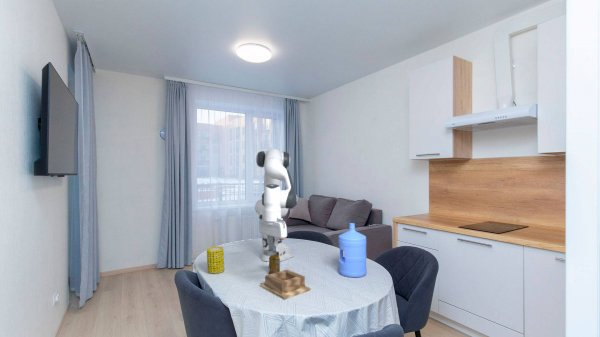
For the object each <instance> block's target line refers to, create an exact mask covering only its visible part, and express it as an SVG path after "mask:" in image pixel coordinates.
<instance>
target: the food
mask: <svg viewBox="0 0 600 337" xmlns="http://www.w3.org/2000/svg"><path fill="white" fill-rule="evenodd" d="M224 252H225V251H224V247H223V246H215V245H214V246H213V245H212V246H209V247H208V248H207V249H206V260H207V261H206V262H207V264H206V265H207V272H208V274H219V275H220V273H222V272H224V271H225V254H224Z"/></svg>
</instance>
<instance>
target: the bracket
mask: <svg viewBox="0 0 600 337" xmlns="http://www.w3.org/2000/svg"><path fill="white" fill-rule="evenodd" d="M273 242H275V239H274V237H273V236H270V235H269V249H268V250H263V254H264V255H266V256H271V255H276V246H274V245H273Z"/></svg>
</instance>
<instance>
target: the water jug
mask: <svg viewBox="0 0 600 337" xmlns="http://www.w3.org/2000/svg"><path fill="white" fill-rule="evenodd" d="M348 224H349V226H348V227H349V229H348V230H347V231H345V232H343V233H341V234H339V235H338V248H339V259H338V273H339V274H340V275H341V276H343V277H347V278H354V277H356V278H361V277H364V276H366V274H367V270H368V269H367V236H366V235H364V234H362V233H360V232H359V231H356V226H355V225H356V223H354V222H353V223H352V222H350V223H348Z"/></svg>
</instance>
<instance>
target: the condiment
mask: <svg viewBox="0 0 600 337" xmlns="http://www.w3.org/2000/svg"><path fill="white" fill-rule="evenodd" d="M268 266H269V267H268V270H269V271H266V274H267V275H269V274H273V273H276V272H280V271H281V261H280V257H279V252H277V251H276V255H271V256H270V257H269V261H268Z"/></svg>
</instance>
